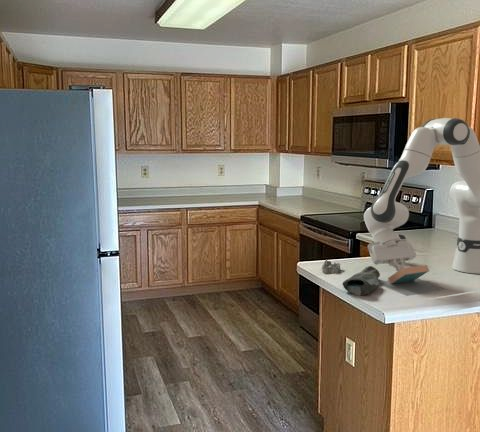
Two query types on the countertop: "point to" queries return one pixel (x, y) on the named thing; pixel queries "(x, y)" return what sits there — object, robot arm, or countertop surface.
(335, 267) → the egg carton
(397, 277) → the tile
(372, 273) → the detergent
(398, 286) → the mat
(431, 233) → the countertop surface
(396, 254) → the robot arm
